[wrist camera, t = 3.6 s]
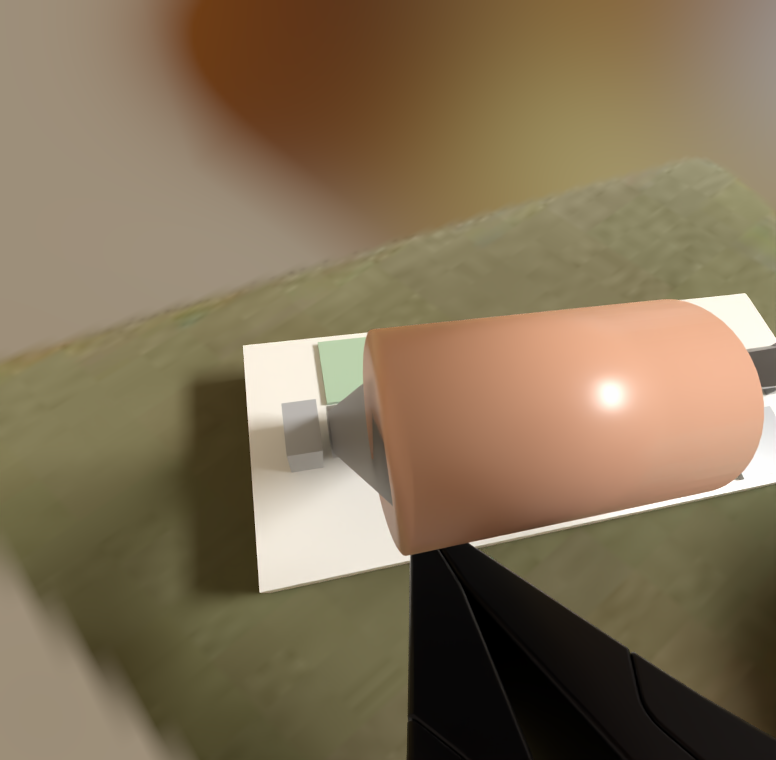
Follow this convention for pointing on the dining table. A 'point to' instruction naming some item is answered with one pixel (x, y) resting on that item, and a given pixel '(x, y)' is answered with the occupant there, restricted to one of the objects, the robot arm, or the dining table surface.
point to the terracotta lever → (546, 418)
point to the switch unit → (354, 495)
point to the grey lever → (765, 364)
